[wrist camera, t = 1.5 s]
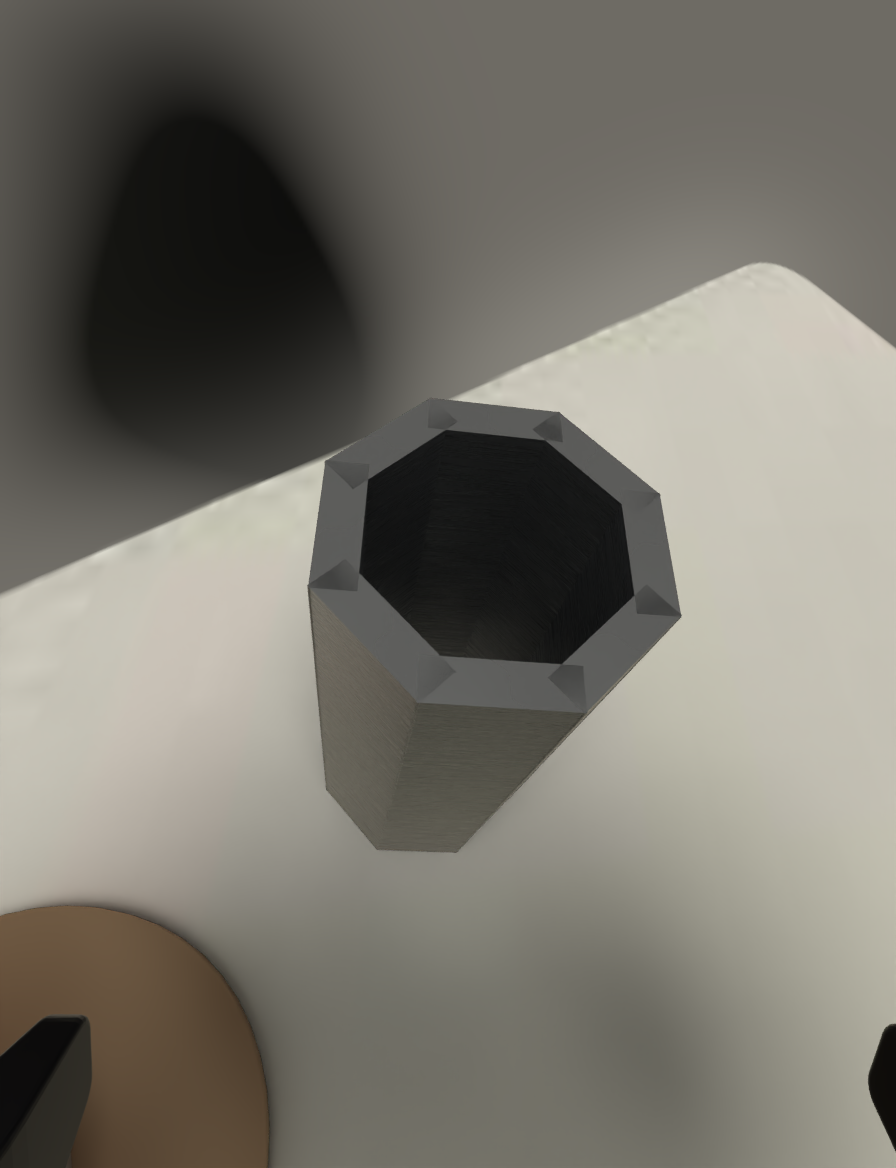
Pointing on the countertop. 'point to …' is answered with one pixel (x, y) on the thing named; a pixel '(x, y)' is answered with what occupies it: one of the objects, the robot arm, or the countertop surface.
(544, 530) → the steel sleeve
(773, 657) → the countertop surface
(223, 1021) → the post stand
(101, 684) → the countertop surface
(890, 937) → the countertop surface
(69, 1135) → the robot arm
